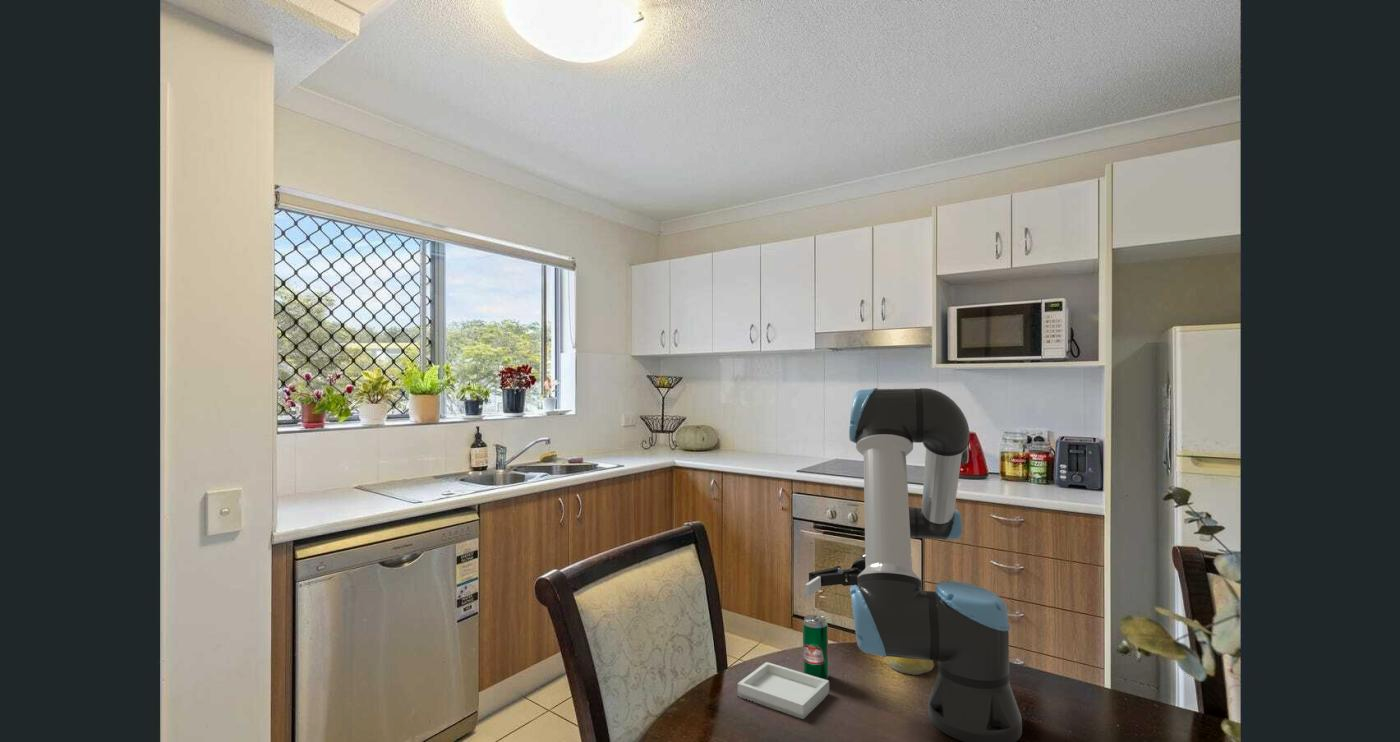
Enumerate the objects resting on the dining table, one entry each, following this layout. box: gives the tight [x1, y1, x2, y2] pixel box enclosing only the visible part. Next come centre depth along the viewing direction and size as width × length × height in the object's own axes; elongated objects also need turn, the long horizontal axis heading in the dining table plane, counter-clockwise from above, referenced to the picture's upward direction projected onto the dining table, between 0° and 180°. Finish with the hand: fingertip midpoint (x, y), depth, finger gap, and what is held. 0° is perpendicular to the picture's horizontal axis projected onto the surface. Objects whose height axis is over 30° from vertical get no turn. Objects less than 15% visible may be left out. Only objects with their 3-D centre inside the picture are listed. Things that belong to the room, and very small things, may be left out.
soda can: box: [802, 614, 830, 680], centre depth 126 cm, size 5×5×12 cm
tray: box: [737, 661, 830, 720], centre depth 119 cm, size 14×11×2 cm
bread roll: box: [887, 656, 935, 676], centre depth 130 cm, size 8×9×4 cm
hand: (834, 597), depth 134 cm, fingers open, 13 cm apart
